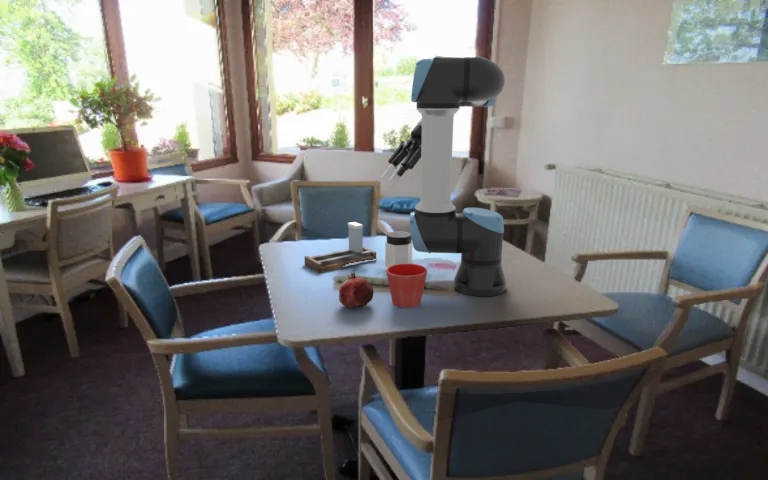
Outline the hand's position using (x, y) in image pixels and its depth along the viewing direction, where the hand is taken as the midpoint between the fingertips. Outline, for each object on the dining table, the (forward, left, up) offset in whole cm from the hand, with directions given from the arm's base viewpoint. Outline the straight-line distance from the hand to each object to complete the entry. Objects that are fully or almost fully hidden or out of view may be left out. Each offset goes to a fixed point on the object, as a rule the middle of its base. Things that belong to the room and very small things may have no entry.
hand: (387, 181), depth 173 cm
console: (-14, +14, -26) cm, 33 cm away
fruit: (-49, 0, -27) cm, 56 cm away
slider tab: (-10, +10, -24) cm, 28 cm away
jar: (-17, -7, -26) cm, 32 cm away
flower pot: (-44, -13, -26) cm, 53 cm away
